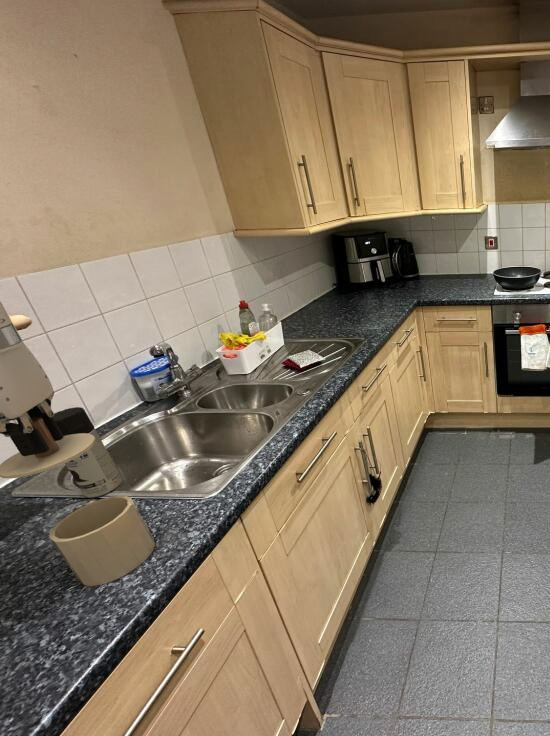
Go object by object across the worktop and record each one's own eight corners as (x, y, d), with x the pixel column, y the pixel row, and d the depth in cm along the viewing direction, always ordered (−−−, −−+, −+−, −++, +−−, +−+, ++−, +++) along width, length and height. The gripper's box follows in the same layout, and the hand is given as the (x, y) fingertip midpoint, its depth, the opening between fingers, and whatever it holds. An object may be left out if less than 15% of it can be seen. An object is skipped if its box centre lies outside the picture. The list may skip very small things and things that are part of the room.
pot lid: (-22, 489, 60) (-50, 450, 58) (32, 448, 70) (10, 412, 67) (72, 470, 64) (50, 431, 61) (111, 433, 73) (93, 398, 71)
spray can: (78, 495, 92) (32, 420, 84) (113, 476, 98) (73, 404, 90) (95, 501, 90) (49, 425, 82) (130, 481, 96) (90, 408, 88)
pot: (66, 595, 68) (33, 550, 64) (100, 547, 77) (73, 505, 73) (140, 573, 71) (113, 529, 67) (164, 530, 80) (142, 489, 76)
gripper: (-9, 329, 65) (48, 427, 72) (-112, 368, 51) (-28, 485, 58) (50, 322, 67) (100, 417, 74) (-33, 357, 53) (39, 471, 60)
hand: (43, 446), depth 66 cm, fingers closed on pot lid, 2 cm apart
